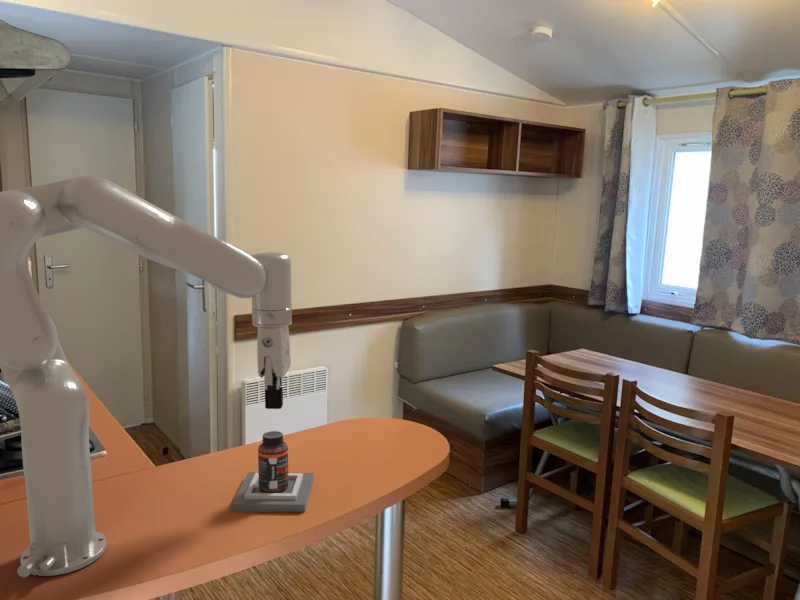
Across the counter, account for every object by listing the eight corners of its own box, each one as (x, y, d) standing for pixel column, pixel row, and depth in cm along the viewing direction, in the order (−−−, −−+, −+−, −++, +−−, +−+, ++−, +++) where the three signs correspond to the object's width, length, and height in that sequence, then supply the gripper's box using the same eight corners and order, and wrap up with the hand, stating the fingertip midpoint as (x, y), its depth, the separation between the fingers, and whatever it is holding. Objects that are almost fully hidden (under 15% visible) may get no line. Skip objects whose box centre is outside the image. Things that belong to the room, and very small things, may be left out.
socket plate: (304, 511, 119) (304, 500, 118) (231, 511, 119) (231, 500, 118) (313, 479, 133) (313, 469, 132) (248, 478, 132) (248, 468, 132)
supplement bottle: (281, 496, 122) (279, 441, 120) (253, 492, 123) (251, 438, 121) (293, 482, 127) (292, 430, 126) (267, 479, 129) (265, 427, 127)
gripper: (285, 324, 112) (286, 421, 115) (297, 310, 127) (298, 395, 130) (243, 324, 112) (246, 420, 115) (260, 309, 127) (262, 395, 130)
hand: (274, 407), depth 123 cm, fingers closed
